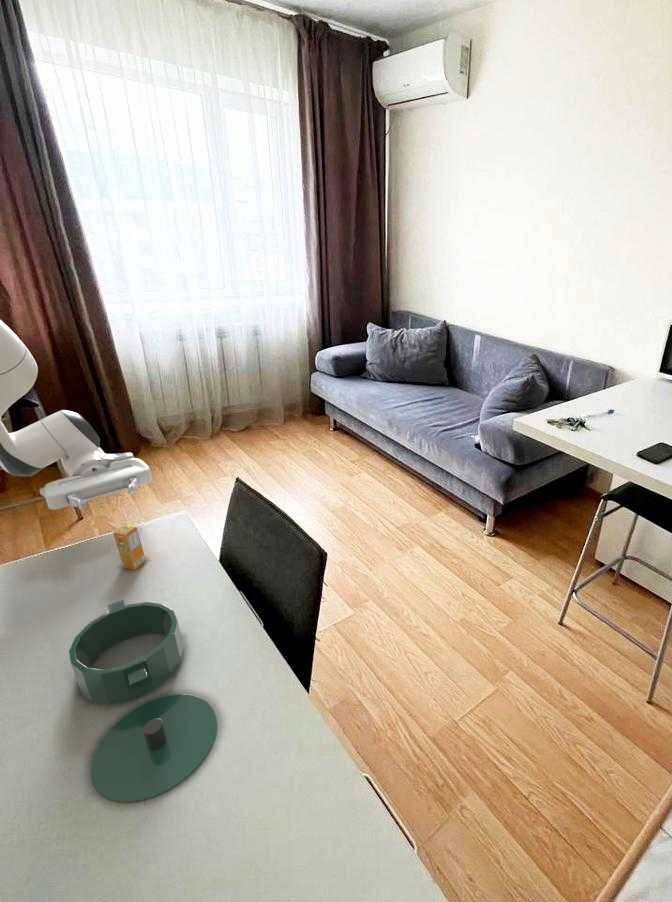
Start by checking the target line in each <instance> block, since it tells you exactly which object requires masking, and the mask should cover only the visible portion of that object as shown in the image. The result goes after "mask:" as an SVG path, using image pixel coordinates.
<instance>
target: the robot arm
mask: <svg viewBox="0 0 672 902" xmlns="http://www.w3.org/2000/svg"><path fill="white" fill-rule="evenodd" d="M38 367H39V366H38V364H37V361H36V360H35V358H34V356H33V355H32V353H31V351H30V350H29V348H28V347H27V346H26V344H24V342H23V341H22V339H20V338H19V336H18V335H17V334H16V333H15V332H14V331H13V330H12V329H11V328H10V327H9V326H8V325H7V324H6V323H4V321H3V320H1V319H0V467H1V469H2V470H4V471H5V472H6V473H8V474H10V475H11V476H16V477H32V476H34V475H35V474H37V473H39V472H40V471H42V470H44V469H45V468H46V467H48V466H50V465H52V464H53V463H55V462H58V461H59V460H60V461H61V465H62V467H63V469H64V471H65V472H66V473H67V477H64V478H61V479H57V480H52V481H50V482H47V483H46V484H45V485H44V486H43V487H40V488H39V493H40V495H41V496H42V497H44V499H45V502H46V504H47V508H48V509H49V510H53V511H55V510H60V509H63V508H67V507H75V508H78V509H79V510H83V509H86V508H89V506H88V501H92V500H95V499H98V498H101V497H105V496H106V497H107V496H109V495H112V494H116V493H119V492H123V491H126V490H127V492H128V494H129V496H132V495H135V494H138V488H139V487H140V486H144V485H147V484H150V483H152V481H153V475H152V473H153V472H152V470H151V468H150V467H149V465H148V464H147V463H145V462H144V461H143V460H142V459H140V458H137V457H136V458H135V456H134V454H133V453H132V452H121V453H105V451H104V450H103V449H102V448H101V447H100V445H101V438H100V437H99V435H98V433H97V432H96V431H95V430H94V428H93V427H92V426H91V424H90V422H89V421H87V420H86V418H85V417H84V416H83V415H81V414H80V413H77V412H74V411H71V410H67V409H61V410H59V411H56V412H54V413H52V414H50V415H47V416H46V417H43V418H41V419H40V420H37V421H36V422H33V423H31V424H29V425H27V426H25V427H23V428H21V429H19V430H17V431H13V432H9V431H8V430H7V428H6V426H5V425H4V423H3V421H2V417H3V416H4V414H5V412H7V410H8V409H9V408H10V407H11V406H12V405H14V404H15V403H16V402H17V401H18V400H19V399H21V398H22V397H23V396H25V395H26V394H27V393H29V391H30V390H31V389H32V388H33V386H34V385H35V383H36V380H37V378H38V374H39V368H38Z"/></svg>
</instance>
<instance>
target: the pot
mask: <svg viewBox="0 0 672 902" xmlns="http://www.w3.org/2000/svg"><path fill="white" fill-rule="evenodd" d="M107 609H108V611H106V612H105V613H103V614H102V615H100V616H99V617H97V618H94V620H92V621H90V622H89V623H88V624H86V626H85V627H83V629H81V631H79V632H78V634H77V635H76V636H74V638H73V641H72V643H71V645H70V647H69V650H68V654H69V660H70V665H71V667H72V670H73V674H74V676H75V679H76V681H77V684H78V687H79V690H80V692H81V694H82V695H83V696H84V697H85V698H87V699H88V700H89V701H90V702H92V703H97V704H105V705H115V704H120V703H124V702H130V701H131V702H132V701H133V700H136V699H138V698H140V697H142V696H144V695H146V694H149V693H150V692H153V691H155V690H156V689H157V688H158V687H160V686H162V684H163V683H165V682H166V681H167V680H168V679H170V678H171V677H172V675H173V674H174V673H175V671H176V670H177V668H178V667H179V666H180V664H181V662H182V660H183V656H184V655H183V654H184V650H185V647H184V643H183V638H182V634H181V629H180V625H179V620H178V617H177V616H176V614H175V611H174V610H173V609H172V608H170V607H168V606H167V605H165V604H163V603H159V602H152V601H151V602H149V601H143V602H136V603H130V604H126V602H125V600H124V599H121V600H118V601H116V602H113V603H109V604H107ZM149 634H154V635H161V636H165V638H164V639H163V641H161V643H160V644H159V645H158V646H157V647H156V648H154V649H153V650H152V651H150V652H149V653H148V654H146V655H144V656H143V657H141V658H139V659H137V660H135V661H132V662H130V663H127V664H125V665H122V666H116V667H111V668H105V669H100V668H94V667H92V665H93V664H94V663H95V662H96V661H97V660H98V659H99V657H100V656H101V655H102V654H104V653H105V652H107V651H108V650H109V649H111V648H112V647H114V646H115V645H117V644H118V643H121V642H123V641H126V640H129V639H131V638H134V637H139V636H142V635H143V636H144V635H149Z"/></svg>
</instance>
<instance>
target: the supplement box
mask: <svg viewBox="0 0 672 902" xmlns="http://www.w3.org/2000/svg"><path fill="white" fill-rule="evenodd" d="M112 534H113V537H114V540H115V544H116V547H117V550H118V554H119V558H120V561H121V564H122V567H123V568H125V569H128V570H134V571H135V570H137V569H138V568H140V567H141V566H142V565H144V564H145V563H146V562H147V559H146V554H145V551H144V547H143V545H142V540H141V537H140V534H139V530H138V527H137V526H135V525H134V526H133V525H129V524H126V523H123V524H122V525H121V526H119V527H118V528H117V529H115V530H114V531H112Z"/></svg>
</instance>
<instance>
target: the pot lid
mask: <svg viewBox="0 0 672 902" xmlns="http://www.w3.org/2000/svg"><path fill="white" fill-rule="evenodd" d="M217 718H218V717H217V715H216V712H215V710H214V708H213V707H212V705H211V704H210V703H209V702H207V700H205V699H204V698H201V697H199V696H197V695H193V694H184V693H177V694H175V693H174V694H169V695H165V696H161V697H157V698H155V699H152V700H149V701H147V702H145V703H143V704H142V705H139V706H138V707H136V708H134V709H133V710H131V711H130V712H128V713H127V714H126V715H124V716H122V718H120V720H118V721H117V722H116V723H115V724H114V725H113V726H112V727H111V728H110V729H109V730H108V732H107V733H106V734H105V736H104V737H103V739H102V740H101V741H100V742H99V745H98V747H97V749H96V750H95V753H94V756H93V759H92V762H91V770H90V771H91V781H92V783H93V785H94V787H95V789H96V790H97V791H98V793H99V794H101V796H103V797H104V798H106V799H108V800H110V801H114V802H119V803H135V802H136V803H137V802H142V801H145V800H149V799H153V798H156V797H158V796H160V795H163V794H164V793H166V792H168V791H170V790H172V789H173V788H175V787H176V786H178V785H180V784H181V783H182V782H184V781H185V780H186V779H187V778H188V777H190V776H191V774H193V773H194V772H195V771H196V770H197V769H198V767H199V766H200V765H202V763H203V761H204V760H205V759H206V757H207V756H208V754H209V752H210V751H211V750H212V747H213V745H214V743H215V739H216V737H217V732H218V719H217Z"/></svg>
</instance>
